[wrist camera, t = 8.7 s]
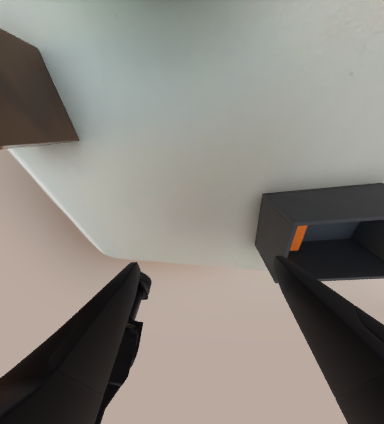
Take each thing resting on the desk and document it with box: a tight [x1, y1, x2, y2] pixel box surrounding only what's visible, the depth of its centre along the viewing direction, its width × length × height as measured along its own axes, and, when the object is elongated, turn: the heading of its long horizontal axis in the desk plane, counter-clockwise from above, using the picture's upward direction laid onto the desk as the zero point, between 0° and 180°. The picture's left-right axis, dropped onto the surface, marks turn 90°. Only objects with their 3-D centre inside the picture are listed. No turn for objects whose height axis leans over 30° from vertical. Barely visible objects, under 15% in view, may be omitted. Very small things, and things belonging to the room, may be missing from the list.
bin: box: [255, 183, 384, 283], centre depth 19 cm, size 10×16×8 cm, turn 96°
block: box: [290, 225, 308, 251], centre depth 22 cm, size 5×4×2 cm
